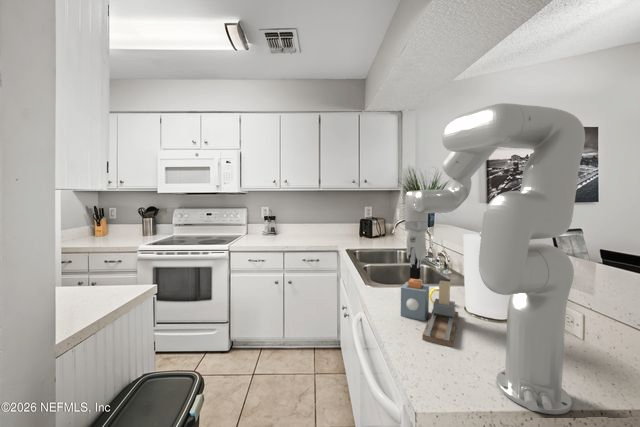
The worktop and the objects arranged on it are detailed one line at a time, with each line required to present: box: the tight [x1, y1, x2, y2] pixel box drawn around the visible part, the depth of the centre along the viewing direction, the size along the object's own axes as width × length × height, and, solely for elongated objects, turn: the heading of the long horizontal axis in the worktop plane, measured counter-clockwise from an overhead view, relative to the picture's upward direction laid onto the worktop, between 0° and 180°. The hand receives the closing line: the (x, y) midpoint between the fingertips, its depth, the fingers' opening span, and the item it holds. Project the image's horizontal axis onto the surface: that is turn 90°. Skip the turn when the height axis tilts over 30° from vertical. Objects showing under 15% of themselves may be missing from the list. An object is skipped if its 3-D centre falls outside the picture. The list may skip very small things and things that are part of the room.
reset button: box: [407, 278, 423, 289], centre depth 99 cm, size 4×4×3 cm
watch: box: [429, 286, 439, 304], centre depth 110 cm, size 6×3×6 cm, turn 88°
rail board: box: [422, 307, 459, 348], centre depth 90 cm, size 23×8×3 cm, turn 150°
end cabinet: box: [400, 281, 430, 321], centre depth 99 cm, size 8×8×10 cm
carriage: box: [432, 280, 456, 317], centre depth 94 cm, size 6×6×10 cm
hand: (415, 278), depth 99 cm, fingers closed
